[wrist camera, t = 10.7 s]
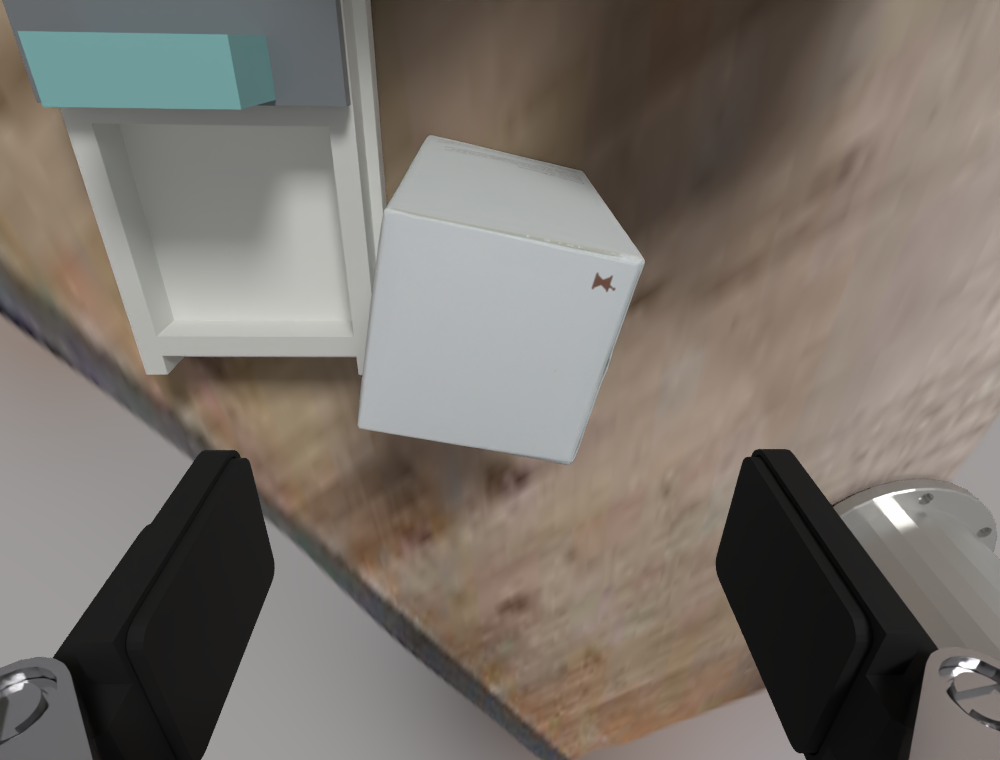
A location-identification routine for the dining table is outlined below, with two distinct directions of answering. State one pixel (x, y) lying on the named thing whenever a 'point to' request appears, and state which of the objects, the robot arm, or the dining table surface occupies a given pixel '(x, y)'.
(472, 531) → the dining table surface
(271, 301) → the open white tray
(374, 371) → the supplement box
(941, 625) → the robot arm
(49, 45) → the gray and teal box
